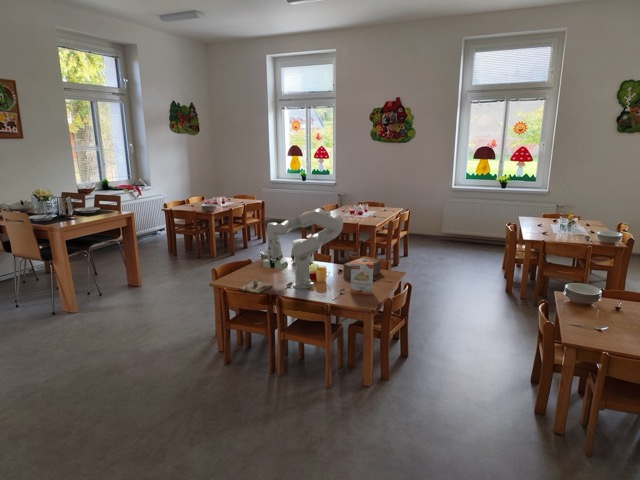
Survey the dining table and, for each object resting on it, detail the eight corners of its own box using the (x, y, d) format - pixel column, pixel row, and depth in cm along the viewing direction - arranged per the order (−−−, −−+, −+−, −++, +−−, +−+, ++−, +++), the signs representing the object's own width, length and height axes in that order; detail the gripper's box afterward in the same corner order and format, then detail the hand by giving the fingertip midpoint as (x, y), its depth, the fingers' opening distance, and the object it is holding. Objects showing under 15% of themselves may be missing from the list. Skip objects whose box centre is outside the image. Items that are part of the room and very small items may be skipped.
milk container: (296, 259, 346) (296, 237, 342) (316, 261, 341) (316, 239, 337) (288, 265, 331) (288, 243, 326) (309, 267, 325) (309, 245, 321)
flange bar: (287, 267, 286) (286, 261, 285) (282, 269, 282) (282, 263, 281) (267, 264, 294) (267, 258, 293) (263, 266, 290) (262, 260, 288)
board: (272, 286, 286) (272, 278, 285) (258, 294, 272) (257, 286, 271) (253, 282, 294) (253, 274, 292) (238, 289, 280) (238, 281, 279)
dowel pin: (247, 288, 279) (247, 284, 278) (246, 289, 278) (246, 284, 277) (246, 288, 279) (246, 283, 278) (245, 288, 278) (244, 284, 277)
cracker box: (350, 294, 273) (350, 263, 268) (351, 290, 279) (351, 260, 274) (372, 295, 271) (373, 264, 266) (372, 292, 277) (373, 261, 272)
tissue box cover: (364, 269, 324) (364, 256, 321) (380, 273, 314) (380, 260, 312) (343, 277, 305) (343, 264, 302) (359, 282, 296) (360, 268, 293)
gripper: (270, 244, 274) (272, 271, 279) (285, 238, 289) (286, 263, 293) (261, 243, 278) (263, 269, 282) (276, 237, 292) (277, 262, 297)
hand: (275, 266), depth 288 cm, fingers closed on flange bar, 5 cm apart
